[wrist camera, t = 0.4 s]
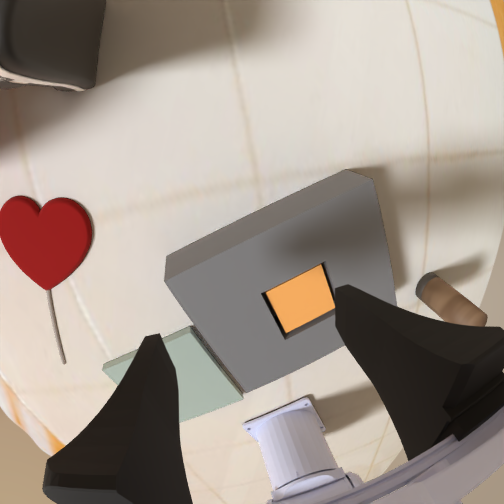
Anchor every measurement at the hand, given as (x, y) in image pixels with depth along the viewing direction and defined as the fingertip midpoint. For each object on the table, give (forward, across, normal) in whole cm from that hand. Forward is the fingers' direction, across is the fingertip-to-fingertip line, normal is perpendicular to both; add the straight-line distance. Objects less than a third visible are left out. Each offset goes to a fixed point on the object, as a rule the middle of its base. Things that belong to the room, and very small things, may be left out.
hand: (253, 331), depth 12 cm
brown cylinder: (+10, -19, +10) cm, 24 cm away
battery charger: (+10, +7, -16) cm, 20 cm away
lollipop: (+11, +14, +1) cm, 18 cm away
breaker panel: (+10, -4, +4) cm, 12 cm away
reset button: (+8, -4, +4) cm, 10 cm away
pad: (+10, +7, +12) cm, 17 cm away
